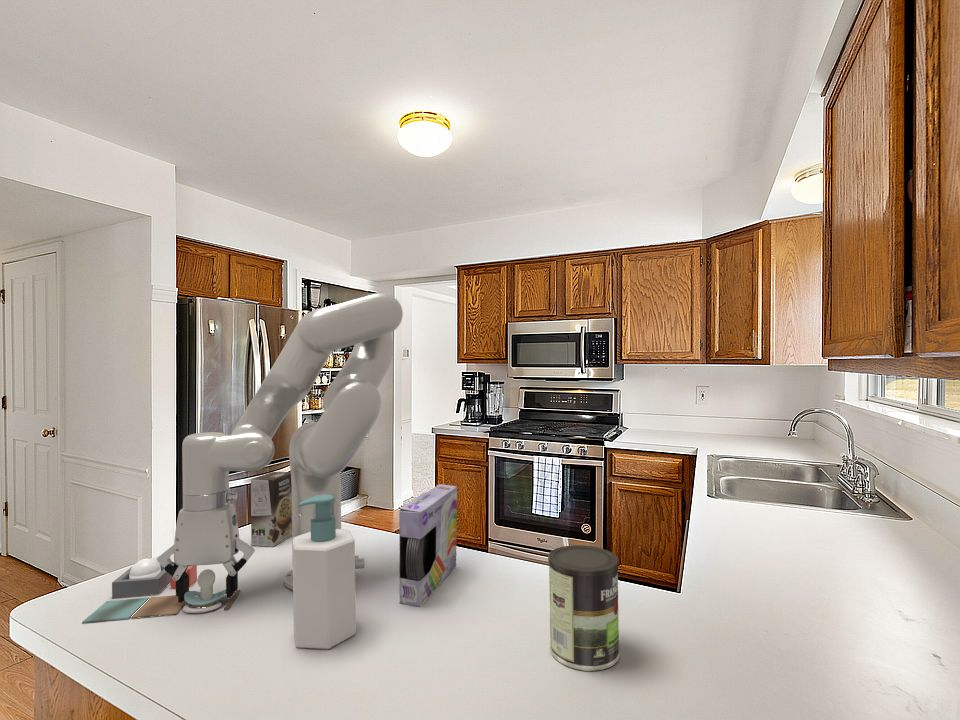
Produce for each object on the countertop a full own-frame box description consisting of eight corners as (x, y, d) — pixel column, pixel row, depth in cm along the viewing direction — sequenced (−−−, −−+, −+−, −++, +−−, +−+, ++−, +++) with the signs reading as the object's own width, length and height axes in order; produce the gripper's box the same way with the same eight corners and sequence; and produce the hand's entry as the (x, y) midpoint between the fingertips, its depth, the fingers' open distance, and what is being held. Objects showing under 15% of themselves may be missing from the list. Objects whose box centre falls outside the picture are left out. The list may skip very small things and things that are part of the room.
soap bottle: (292, 624, 85) (290, 492, 85) (348, 613, 89) (346, 486, 89) (296, 657, 76) (294, 508, 76) (359, 642, 79) (356, 501, 79)
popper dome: (165, 579, 103) (165, 553, 103) (154, 590, 98) (153, 563, 98) (137, 581, 102) (137, 555, 102) (124, 593, 97) (123, 565, 97)
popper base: (201, 575, 106) (200, 556, 106) (185, 592, 98) (185, 572, 98) (133, 580, 104) (133, 561, 104) (112, 598, 96) (111, 578, 96)
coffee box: (274, 547, 121) (273, 479, 121) (250, 546, 122) (249, 478, 122) (295, 534, 130) (294, 471, 130) (272, 533, 131) (272, 470, 131)
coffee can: (628, 644, 78) (627, 551, 78) (607, 680, 69) (605, 576, 69) (565, 626, 83) (564, 540, 83) (538, 657, 75) (536, 561, 75)
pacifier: (218, 614, 89) (232, 597, 95) (217, 579, 89) (231, 564, 95) (174, 617, 89) (191, 600, 95) (173, 581, 89) (190, 566, 95)
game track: (240, 591, 98) (240, 589, 98) (228, 609, 91) (228, 608, 91) (106, 602, 94) (106, 601, 94) (82, 623, 86) (82, 621, 86)
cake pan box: (420, 611, 89) (418, 510, 89) (394, 607, 91) (393, 507, 91) (459, 568, 107) (458, 484, 107) (437, 565, 109) (436, 483, 109)
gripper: (261, 492, 99) (262, 584, 99) (163, 498, 96) (164, 592, 96) (251, 503, 91) (252, 602, 91) (144, 509, 88) (145, 611, 88)
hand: (207, 596), depth 93 cm, fingers closed on pacifier, 7 cm apart
